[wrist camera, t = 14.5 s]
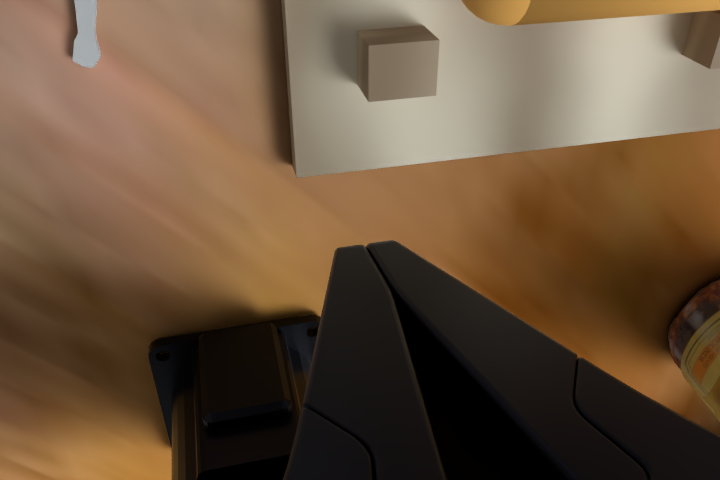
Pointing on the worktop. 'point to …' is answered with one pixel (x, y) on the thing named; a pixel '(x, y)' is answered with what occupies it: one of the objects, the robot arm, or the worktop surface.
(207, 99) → the worktop surface
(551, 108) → the cradle board
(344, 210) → the worktop surface
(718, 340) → the sauce bottle
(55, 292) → the worktop surface
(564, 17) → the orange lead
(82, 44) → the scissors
